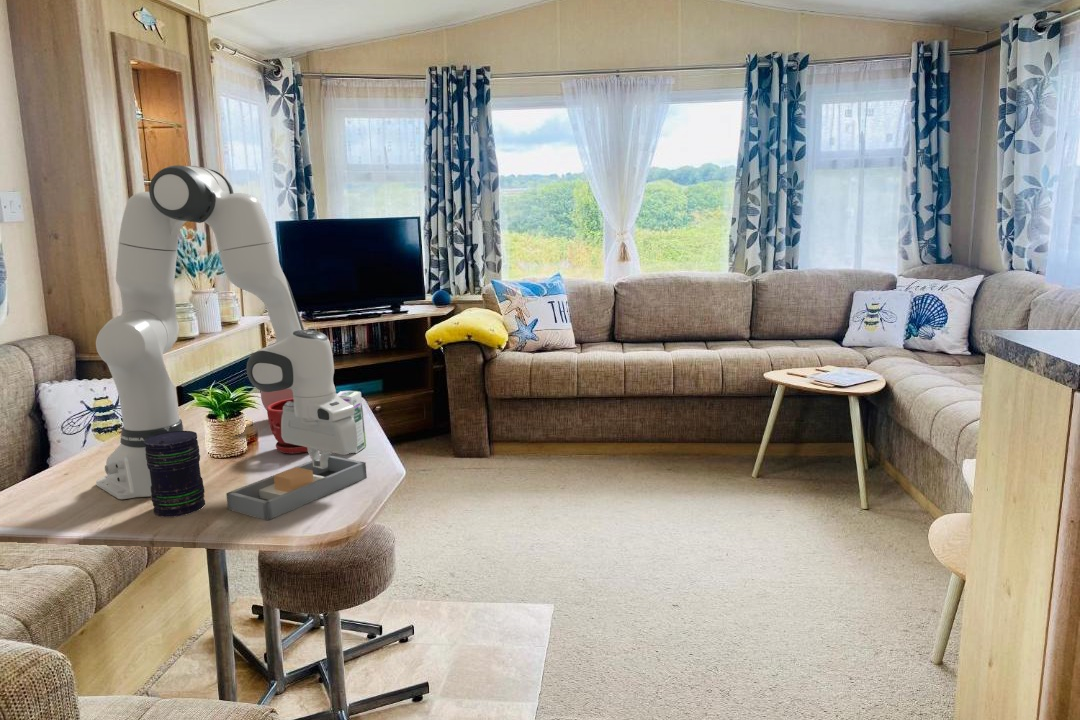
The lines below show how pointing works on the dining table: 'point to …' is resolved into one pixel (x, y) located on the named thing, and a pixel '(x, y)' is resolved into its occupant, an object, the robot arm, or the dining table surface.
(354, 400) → the syrup box
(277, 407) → the plant pot
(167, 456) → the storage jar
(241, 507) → the tray box
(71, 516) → the dining table surface
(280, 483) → the wooden block
